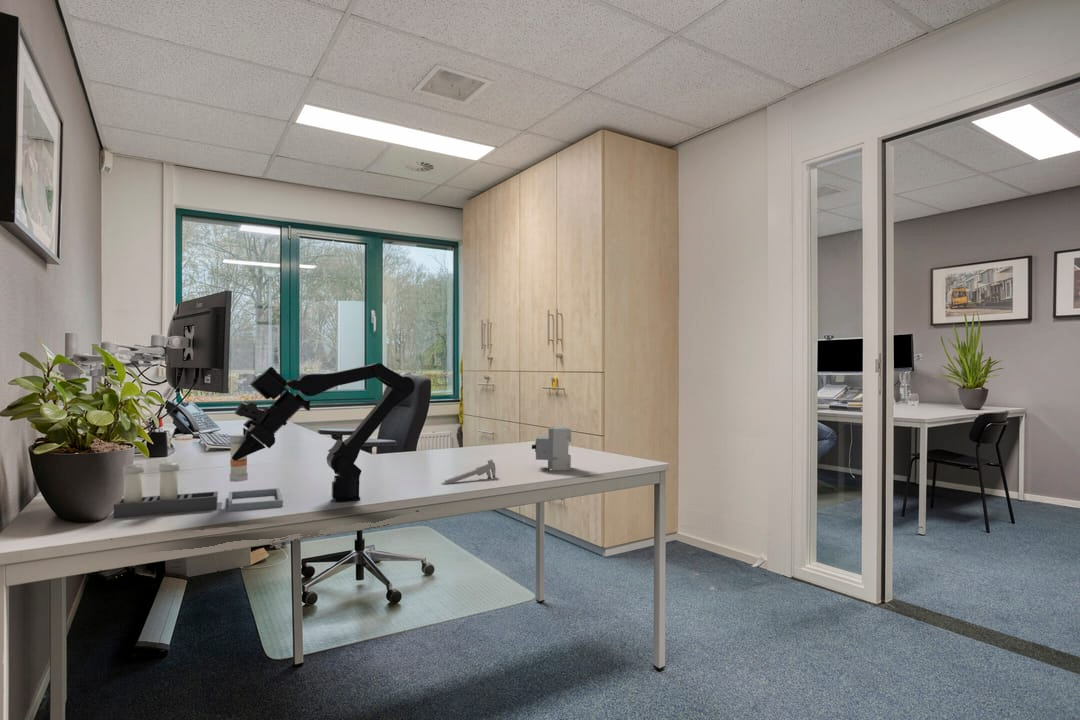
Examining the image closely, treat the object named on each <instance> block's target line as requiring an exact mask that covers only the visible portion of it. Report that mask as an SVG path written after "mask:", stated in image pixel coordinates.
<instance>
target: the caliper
mask: <svg viewBox="0 0 1080 720" xmlns="http://www.w3.org/2000/svg"><path fill="white" fill-rule="evenodd" d="M496 473H497V472H496V464H495V462H494V461H493V459H490V460H487V463H485V464H483V465H479V466H477V467H475V469H472V470H469V471H466V472H464V473H461V474H457V475H455V476H453V477H450V478H447V479H444V481H443V482H441V485H443V484H444V485H450V484H449V483H451V484H454V483H457V482H459V481H462V480H465V479H468V478H469V477H473V476H476V475H477V476H478V477H479V476H481V475H484V474H486V476H487V478H488V477H491V478H492V476H495V477H496Z"/></svg>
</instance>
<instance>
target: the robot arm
mask: <svg viewBox="0 0 1080 720" xmlns="http://www.w3.org/2000/svg"><path fill="white" fill-rule="evenodd" d="M374 378H376V380H378V381H379V382H380V383H381V384H383V385H385V386H386V387H385V389H384V391H383V394H382V397H381V399H379V401H378V402H377V403H376V404H375V406H374V407H373V408H372V409H371V410H370V412H369V413H368V414H367V415H366V416H365V417H364V419H363V420H362V421H361V422H360V423H359V425H358V426H357V428H356V429H354V431H352V433H351V434H350V436H349V437H348V438H347V439H345V440H343V441H342V440H341V439H337V440H336V441H335V443H334V444H333V446H332V447H330V448H329V449H328V450H327V452H328V454H327V456H326V463H327V466H328V467H329V468H331V470H332V471H333V472H334V474H335V475H334V476H333V481H331V497H332V499H333V500H334V501H335V502H349V501H359V500H361V496H360V478H361V477H360V476H361V474H362V470H361V469H360V467H359V466H357V465H356V464H355V462H356V461H357V459H358V457H359V454H360V451H361V448H362V447H363V446H364V445H365V443H366V442H367V441H368V440H369V439H370V437H371V436H372V434H374V432H376V430H377V429H378V427H380V425H381V423H382V422H383V421H384V420H385V419H386V418H387V416H388V415H389V414H390V413H391V412H392V410H393V409H394V408H395V407H397V406H398V405H400V404H401V403H403V402H404V401H405V400H407V398H409V397H410V396H411V395H412V394H414V391H415V389H416V387H415V382H414V380H413V379H412V378H411V377H409V376H405V375H404V376H403V375H400V374H399V373H397V372H395V371H393V370H392V369H389V368H388V367H387V366H385V365H384V364H383V363H381V362H373V363H371V364H369V365H363V366H360V367H359V366H358V367H355V368H354V367H353V368H349V369H344V370H339V371H336V372H335V371H334V372H327V373H324V372H323V373H322V372H321V373H305V374H301V375H300V376H298V377H297V378H296V379H287V380H286V379H285V378H284V377H283V376H281V374H279V373H278V372H277V370H276V369H275V368H274V367H273V366H270V367H268V368H267V369H266V370H265V371H263V372H262V373H261V374H259V375H257V376H256V377H255V378H254V379H253V380H252V381H251V383H249V385H250V387H252V388H253V389H254V390H255V391H257V393H259V394H260V395H261V396H262V397H263V398H264V399H265V400H269V399H271V400H275V399H276V400H275V401H274V402H273V403H272V404H271V405H269V406H265V407H264V408H263V409H261V408H258V405H257V403H254V402H251V401H250V402H249V403H245V402H243V401H240V402H239V404H238V406H237V408H236V410H235V412H234V414H235V415H236V416H239V417H245V418H246V419H247V420H246V421H245V422H244V423H243V426H244V427H243V428H242V433H243V434H242V435H245V441H244V442H243V443H242V445H241V446H240V447H239V448H238V450H237V451H236V452H235V454H234V455H233V456H232V459H233V460H234V461H236V460H238V459H240V458H243V457H245V456H247V457H248V456H249V455H252V454H254V453H256V452H258V451H261V450H263V449H266V447H267V448H268V449H271V448H272V447H273V446H274V445H275V443H276V433H277V432H278V431H279V430H280V429H281V428H282V427H285V426H286V425H287V424H288V422H289V420H291V418H292V417H293V416H294V415H295V414H296V413H297V412H298V411H299V410H300V409H302V408H303V409H304V410H306V411H308V412H309V411H310V410H311V400H309V399H304V398H303V397H302V396H301V395H300V394H302V395H303V396H306V397H315V396H316V395H319V394H323V393H324V392H326V391H328V390H331V389H333V388H335V387H338V386H343V385H344V386H345V385H348V384H352V383H356V382H360V381H361V382H362V381H365V380H369V379H374ZM286 387H287V388H288V389H287V388H286ZM289 389H290V390H294V391H298V392H296V393H294V394H293V393H292V392H290V390H289ZM283 392H284V393H283ZM298 393H300V394H298Z"/></svg>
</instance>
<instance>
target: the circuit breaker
mask: <svg viewBox="0 0 1080 720" xmlns="http://www.w3.org/2000/svg"><path fill="white" fill-rule="evenodd" d="M571 430H572V429H571V426H555V425H554V426H552V425H551V426H548V436H547V435H545V436H543V435H538V436H536V440H535V443H534V444H532V445H531V449H532V450H534V451H535V460H539V461H540V460H541V461H542V460H543V461H547V470H548V469H552V471H554V470H571V467H572V466H571V465H572V464H571V463H572V462H571V461H572V458H571V457H572V456H571V454H569V447H570V446H569V444H570V443H572V431H571Z"/></svg>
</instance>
